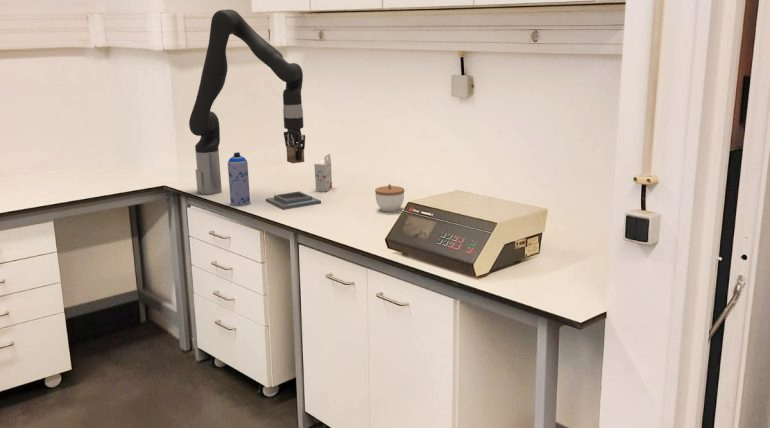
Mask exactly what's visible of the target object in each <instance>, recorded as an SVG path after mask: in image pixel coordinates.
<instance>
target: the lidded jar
mask: <svg viewBox="0 0 770 428" xmlns="http://www.w3.org/2000/svg"><path fill="white" fill-rule="evenodd" d="M374 190H375V193H374V194H375V201H376V204H377V206H378V207H379V208H380V209H381V211H383V212H387V213H388V212H389V213H390V212H392V213H393V212H397V211H398V210H399V209H400V208H401V207H402V206H403V203H404V198H405V188H404V187H402V186H398V185H397V186H396V185H392V184H388V185H384V186H380V187H376V188H375V189H374Z"/></svg>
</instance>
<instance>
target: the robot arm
mask: <svg viewBox="0 0 770 428" xmlns="http://www.w3.org/2000/svg"><path fill="white" fill-rule="evenodd" d="M209 29H210V30H209V40H208V46H207V50H206V55H205V59H204V63H203V68H202V71H201V77H200V83H199V87H198V90H197V95H196V99H195V102H194V105H193V108H192V111H191V114H190V116H189V123H188V126H189V129H190V133H192V134H193V135H195V136H196V137H199V136H200V139H199V141H198V142H197V143H196V144H195V145H194V146H195V147H194V149H195V161H196V169H195V176H196V177H195V179H196V181H195V182H196V190H197V191H196V192H197V193H199V194H200V193H201V195H214V194H218V193H221V192H222V191H223V189H222V177H221V164H220V153H219V152H220V151H219V146H220V142H221V134H220V133H221V131H220V130H221V129H220V121H219V118H218V115H217V114H216V113H215V112H213V111H211V109H212V107H213V104H214V102H215V101H216V99H217V97H218V96H219V95H220V93H221V92H222V90H223V88H224V86H225V83H226V78H227V74H228V58H227V45H228V41H229V39H230V38H229V37H230V36H231V35H234V36H235V37H236V38H238V39H240V40H241V41H242V42H243V43H245V44H246V45H247V47H249V49H250V50H251V52H252V53H253V55H254V56H255V57H256V58H257V59H258V60H259V61H261V62H263V64H265V65H266V66H267V67H269V68H270V70H271V71H272V72H273V73H274V75H276V77H278V79H280V80H281V81H282V82H284V83H285V89H283V93H282V103H283V104H282V105H283V108H282V109H283V110H282V112H283V128H284V129H286V130H287V131H283V138H284V144H285V147H287V146H295V150H296V160H297V161H299V160H302V153H301V151H302V150H304V151H305V147H306V134H302V131H301V129H303V128H304V114H303V113H304V110H303V104H302V89H303V82H304V74H303V69H302V67H301V66H300V65H299V64H298V63H295V62H291V63H290V62H288V61H287V60H285V59H284V57H283V54H282V53H281V52H280V51H279V50H278V49H276V48H275V47H274V46H272V45H271V44H270V43H269V42H267V40H265V39H264V38H263V37H262V36H261V35H260V34H258V33H257V31H256V30H254V29H253V27H252V26H251V25H250V24H249V23H248V22H247V21H246V20H245V19H244V18H243V17H242V15H240V14H239V12H237V10H233V9H221V10H217V11H216V12H214V14H213V16H212V18H211V22H210V27H209ZM297 145H298V147H297Z"/></svg>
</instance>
